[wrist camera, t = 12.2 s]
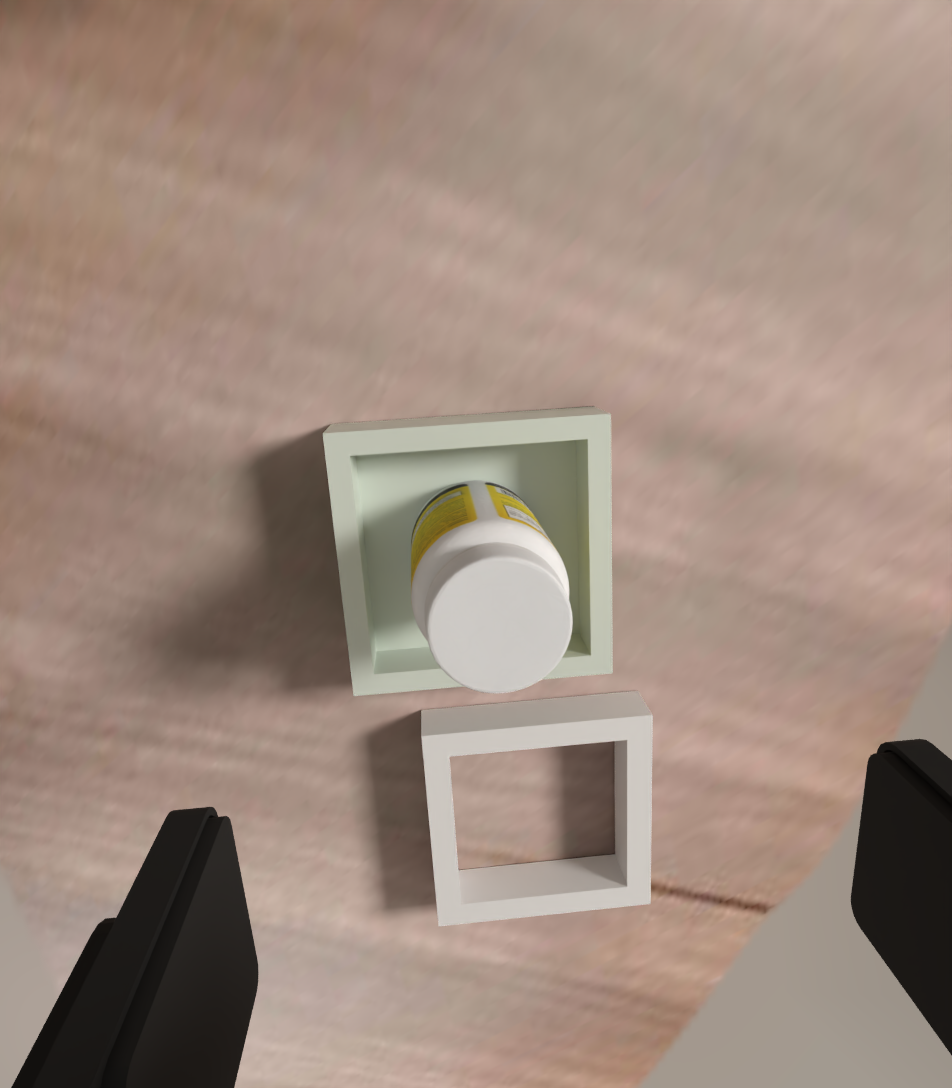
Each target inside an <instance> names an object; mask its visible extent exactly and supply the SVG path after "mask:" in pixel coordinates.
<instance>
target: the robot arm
mask: <svg viewBox="0 0 952 1088" xmlns="http://www.w3.org/2000/svg"><path fill="white" fill-rule="evenodd" d="M851 905H852V910H853V914H854V917H855V919H856V921H857V923H858V925H859V926H860V928H861V930H862V931H863V932H864V934H865V935H866V937H867V938H868V939H869V941H870V942H871V943H872V945H873V946H874V947H875V949H876V950H877V952H878V953H879V954H880V956H881V957H882V959H883V960H884V961H885V963H886V964H887V966H888V967H889V968H890V970H891V971H892V973H893V974H894V976H895V977H896V978H897V980H898V981H899V982H900V984H901V985H902V987H903V988H904V989H905V991H906V992H907V993H908V995H909V996H910V998H911V999H912V1001H913V1002H914V1003H915V1005H916V1006H917V1008H918V1009H919V1010H920V1011H921V1013H922V1014H923V1016H924V1017H925V1019H926V1020H927V1021H928V1023H929V1024H930V1026H931V1027H932V1028H933V1030H934V1031H935V1032H936V1034H937V1035H938V1037H939V1038H940V1039H941V1041H942V1042H943V1044H944V1045H945V1047H946V1048H947V1049H948V1051H949V1052H950V1053H951V1055H952V760H951V759H950V758H948V757H947V756H946V755H945V754H944V753H942V752H941V751H940V750H939V749H938V748H936V747H935V746H934V745H933V744H932V743H930V742H928V741H927V740H923V739H915V740H906V741H894V742H885V743H883V744H881V745H880V747H879V748H878V750H877V753H876V754H873V755H871V756H870V758H869V760H868V764H867V772H866V780H865V788H864V796H863V804H862V812H861V820H860V829H859V836H858V844H857V852H856V861H855V869H854V878H853V886H852V893H851ZM257 986H258V961H257V956H256V951H255V945H254V940H253V935H252V930H251V924H250V919H249V914H248V909H247V904H246V898H245V893H244V888H243V883H242V877H241V872H240V867H239V862H238V856H237V851H236V846H235V841H234V836H233V830H232V825H231V821H230V819H229V817H227V816H223V817H218V815H217V812H216V810H215V809H214V808H213V807H205V808H194V809H184V810H173V811H171V812H170V813H169V814H168V815H167V817H166V819H165V821H164V823H163V825H162V827H161V829H160V831H159V833H158V835H157V837H156V839H155V841H154V843H153V845H152V847H151V849H150V851H149V853H148V855H147V857H146V859H145V861H144V863H143V865H142V867H141V869H140V871H139V873H138V875H137V877H136V879H135V881H134V883H133V885H132V887H131V889H130V891H129V893H128V895H127V897H126V899H125V901H124V903H123V906H122V908H121V910H120V912H119V914H118V916H117V918H108V919H104V920H103V921H102V922H100V923H99V924H98V925H97V927H96V928H95V930H94V931H93V933H92V934H91V936H90V938H89V940H88V942H87V944H86V946H85V948H84V950H83V952H82V954H81V955H80V957H79V959H78V961H77V963H76V965H75V967H74V969H73V971H72V973H71V975H70V977H69V978H68V980H67V982H66V984H65V986H64V988H63V990H62V992H61V994H60V996H59V998H58V999H57V1001H56V1003H55V1005H54V1007H53V1009H52V1011H51V1013H50V1015H49V1017H48V1019H47V1021H46V1023H45V1024H44V1026H43V1028H42V1030H41V1032H40V1034H39V1036H38V1038H37V1040H36V1042H35V1043H34V1045H33V1047H32V1050H31V1051H30V1053H29V1055H28V1057H27V1059H26V1061H25V1063H24V1065H23V1066H22V1068H21V1070H20V1072H19V1074H18V1076H17V1078H16V1080H15V1082H14V1084H13V1086H12V1087H11V1088H234V1086H235V1082H236V1077H237V1073H238V1069H239V1065H240V1060H241V1056H242V1052H243V1048H244V1044H245V1039H246V1035H247V1031H248V1027H249V1022H250V1018H251V1014H252V1010H253V1005H254V1001H255V997H256V992H257Z"/></svg>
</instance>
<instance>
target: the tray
mask: <svg viewBox="0 0 952 1088" xmlns="http://www.w3.org/2000/svg"><path fill="white" fill-rule="evenodd" d="M323 441H324V450H325V458H326V467H327V475H328V483H329V492H330V500H331V509H332V517H333V526H334V534H335V543H336V551H337V560H338V568H339V576H340V585H341V593H342V602H343V610H344V619H345V627H346V636H347V644H348V652H349V661H350V669H351V678H352V686H353V695H354V696H361V695H373V694H384V693H395V692H406V691H418V690H429V689H440V688H452V687H463V685H461V684H459V683H457V682H456V681H454V680H453V679H452V678H450V677H449V676H448V675H447V674H446V673H445V672H444V671H443V670H442V669H441V668H440V666H439V665H438V664H437V662H436V661H435V659H434V657H433V655H432V653H431V651H430V648H429V645H428V641H427V640H426V639H425V637H424V636H423V634H422V633H421V631H420V629H419V627H418V625H417V623H416V620H415V617H414V614H413V609H412V604H411V539H412V531H413V527H414V524H415V521H416V519H417V516H418V514H419V512H420V511H421V509H422V508H423V506H424V505H425V504H426V503H427V502H428V501H429V500H430V499H431V498H432V497H433V496H434V495H435V494H436V493H438V492H439V491H441V490H442V489H444V488H446V487H448V486H451V485H453V484H456V483H460V482H465V481H472V480H482V481H489V482H494V483H497V484H500V485H502V486H505V487H506V488H508V489H510V490H511V491H513V492H514V493H516V494H517V495H518V496H519V497H520V498H521V499H522V500H523V501H524V502H525V503H526V504H527V505H528V507H529V508H530V510H531V512H532V513H533V515H534V516H535V518H536V519H537V521H538V522H539V524H540V525H541V527H542V528H543V530H544V532H545V533H546V535H547V536H548V538H549V539H550V541H551V542H552V544H553V545H554V547H555V548H556V550H557V551H558V553H559V555H560V557H561V559H562V561H563V563H564V566H565V569H566V572H567V576H568V581H569V602H570V605H571V610H572V618H573V625H572V633H571V638H570V642H569V645H568V647H567V649H566V652H565V654H564V655H563V657H562V659H561V660H560V662H559V663H558V664H557V666H556V667H555V668H554V669H553V670H552V671H551V672H550V673H549V674H548V675H546V676H545V677H544V678H543V679H553V678H564V677H576V676H587V675H598V674H610V673H613V668H612V502H611V413H608V412H606V411H604V410H601V409H599V408H597V407H595V406H589V407H574V408H560V409H545V410H530V411H516V412H501V413H486V414H472V415H457V416H442V417H427V418H413V419H398V420H383V421H369V422H354V423H339V424H331V425H330V426H329V427H328V428H327V429H326V430H325V431H324V433H323ZM541 680H542V679H541Z"/></svg>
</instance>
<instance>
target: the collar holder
mask: <svg viewBox="0 0 952 1088" xmlns="http://www.w3.org/2000/svg"><path fill="white" fill-rule="evenodd" d="M652 727H653V715H652V713H651V711H650V710H649V708H648V706H647V705H646V703H645V701H644V700H643V698H642V697H641V695H640V693H639V692H638V691H628V692H617V693H606V694H595V695H584V696H573V697H562V698H551V699H539V700H528V701H517V702H506V703H495V704H484V705H473V706H462V707H451V708H440V709H428V710H421V738H422V749H423V760H424V771H425V782H426V793H427V804H428V815H429V826H430V837H431V848H432V859H433V870H434V881H435V892H436V903H437V914H438V925H439V926H447V925H457V924H466V923H475V922H485V921H494V920H504V919H513V918H522V917H532V916H541V915H550V914H560V913H569V912H579V911H588V910H597V909H607V908H616V907H625V906H635V905H644V904H650V902H651V815H652ZM610 741H614V753H615V854H612V855H602V856H592V857H582V858H573V859H563V860H553V861H543V862H534V863H524V864H514V865H504V866H495V867H485V868H475V869H465V870H458V859H457V846H456V833H455V821H454V808H453V795H452V783H451V770H450V757H451V756H461V755H472V754H483V753H493V752H504V751H514V750H525V749H536V748H546V747H557V746H568V745H578V744H589V743H600V742H610Z"/></svg>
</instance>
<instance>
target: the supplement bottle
mask: <svg viewBox="0 0 952 1088" xmlns="http://www.w3.org/2000/svg"><path fill="white" fill-rule="evenodd" d="M411 604H412V609H413V614H414V617H415V620H416V623H417V625H418V627H419V629H420V631H421V633H422V634H423V636H424V637H425V639H426V640H427V641H428V645H429V648H430V651H431V653H432V655H433V657H434V659H435V661H436V662H437V664H438V665H439V666H440V668H441V669H442V670H443V671H444V672H445V673H446V674H447V675H448V676H449V677H450V678H452V679H453V680H454V681H456V682H457V683H459V684H461V685H463V686H465V687H467V688H469V689H472V690H475V691H480V692H485V693H509V692H513V691H518V690H521V689H524V688H527V687H529V686H531V685H533V684H535V683H537V682H538V681H540V680H541V679H543V678H544V677H545V676H546V675H548V674H549V673H550V672H551V671H552V670H553V669H554V668H555V667H556V666H557V664H558V663H559V662H560V660H561V659H562V657H563V655H564V654H565V652H566V649H567V647H568V645H569V642H570V638H571V633H572V625H573V618H572V610H571V605H570V602H569V581H568V576H567V572H566V569H565V566H564V563H563V561H562V559H561V557H560V555H559V553H558V551H557V550H556V548H555V547H554V545H553V544H552V542H551V541H550V539H549V538H548V536H547V535H546V533H545V532H544V530H543V528H542V527H541V525H540V524H539V522H538V521H537V519H536V518H535V516H534V515H533V513H532V512H531V510H530V508H529V507H528V505H527V504H526V503H525V502H524V501H523V500H522V499H521V498H520V497H519V496H518V495H517V494H516V493H514V492H513V491H511V490H510V489H508V488H506V487H505V486H502V485H500V484H497V483H494V482H489V481H482V480H472V481H465V482H460V483H456V484H453V485H451V486H448V487H446V488H444V489H442V490H441V491H439V492H438V493H436V494H435V495H434V496H433V497H432V498H431V499H430V500H429V501H428V502H427V503H426V504H425V505H424V506H423V508H422V509H421V511H420V512H419V514H418V516H417V519H416V521H415V524H414V527H413V531H412V539H411Z"/></svg>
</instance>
